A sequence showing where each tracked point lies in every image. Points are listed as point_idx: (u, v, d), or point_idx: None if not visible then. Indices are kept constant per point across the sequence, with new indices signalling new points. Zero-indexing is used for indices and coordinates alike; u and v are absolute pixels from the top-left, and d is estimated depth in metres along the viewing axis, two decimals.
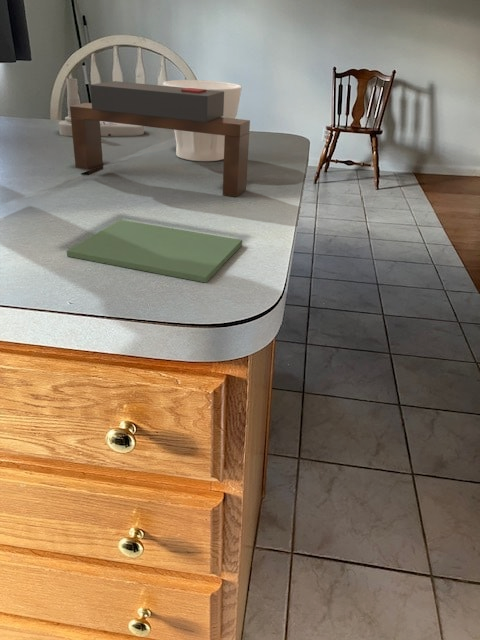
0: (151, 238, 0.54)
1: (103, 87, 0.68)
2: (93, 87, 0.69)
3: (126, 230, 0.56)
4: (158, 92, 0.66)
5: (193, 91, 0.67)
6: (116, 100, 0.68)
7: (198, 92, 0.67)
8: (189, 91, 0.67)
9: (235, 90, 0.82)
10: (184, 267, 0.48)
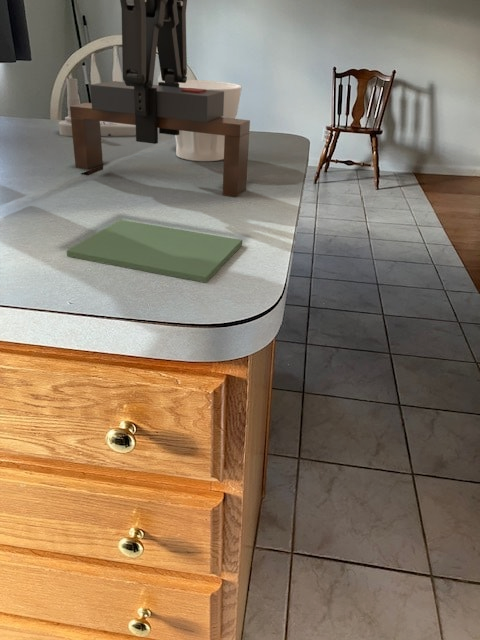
0: (151, 238, 0.54)
1: (103, 87, 0.68)
2: (93, 87, 0.69)
3: (126, 230, 0.56)
4: (158, 92, 0.66)
5: (193, 91, 0.67)
6: (116, 100, 0.68)
7: (198, 92, 0.67)
8: (189, 91, 0.67)
9: (235, 90, 0.82)
10: (184, 267, 0.48)
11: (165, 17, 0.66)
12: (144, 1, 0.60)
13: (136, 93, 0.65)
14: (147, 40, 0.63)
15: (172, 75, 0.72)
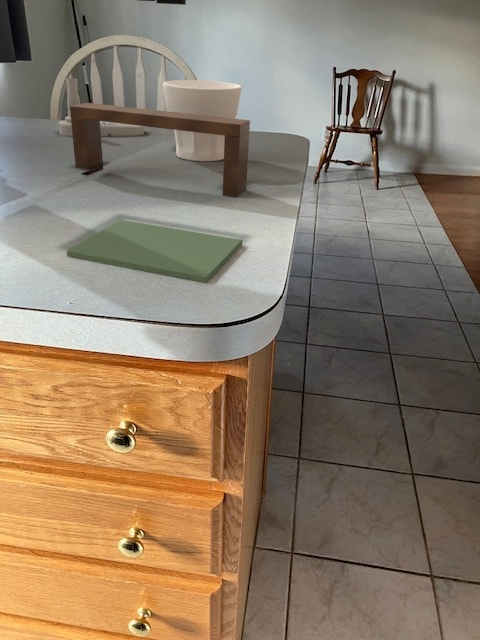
0: (151, 238, 0.54)
1: None
2: None
3: (126, 230, 0.56)
4: None
5: None
6: None
7: None
8: None
9: (235, 90, 0.82)
10: (184, 267, 0.48)
11: None
12: None
13: None
14: None
15: None
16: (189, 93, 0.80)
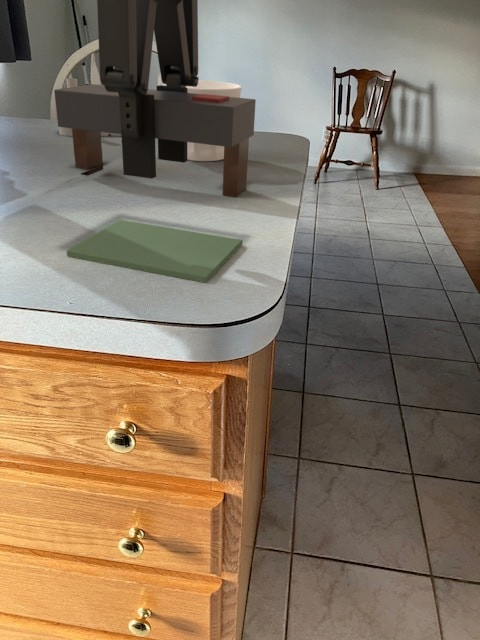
0: (151, 238, 0.54)
1: (73, 93, 0.45)
2: (59, 93, 0.46)
3: (126, 230, 0.56)
4: (157, 101, 0.43)
5: (210, 99, 0.44)
6: (93, 113, 0.45)
7: (218, 101, 0.43)
8: (204, 99, 0.44)
9: (235, 90, 0.82)
10: (184, 267, 0.48)
11: None
12: None
13: (122, 103, 0.42)
14: (139, 20, 0.40)
15: (177, 75, 0.48)
16: None
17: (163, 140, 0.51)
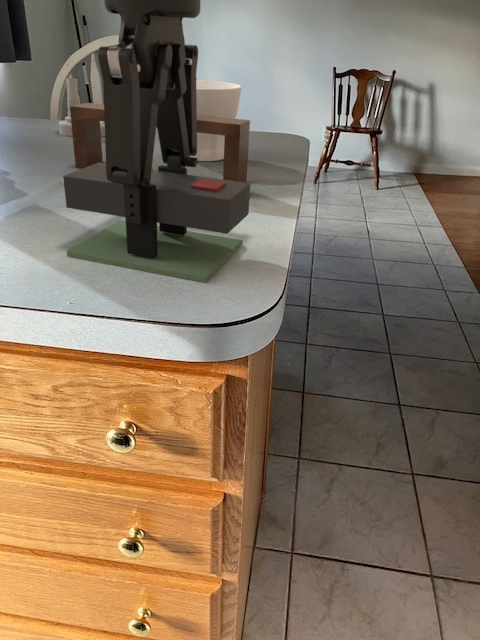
0: None
1: (81, 180, 0.49)
2: (67, 179, 0.49)
3: None
4: (158, 191, 0.47)
5: (208, 188, 0.47)
6: (100, 197, 0.49)
7: (215, 190, 0.47)
8: (202, 188, 0.47)
9: (235, 90, 0.82)
10: (184, 267, 0.48)
11: (168, 85, 0.46)
12: (137, 71, 0.40)
13: (126, 194, 0.46)
14: (142, 122, 0.44)
15: (177, 157, 0.52)
16: None
17: None
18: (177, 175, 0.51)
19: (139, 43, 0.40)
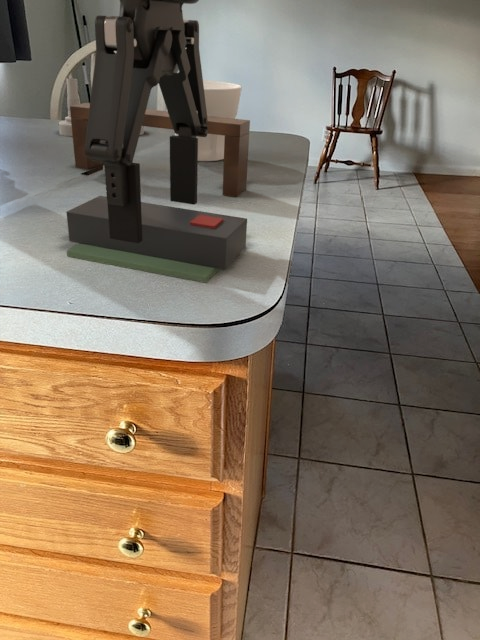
0: None
1: (84, 216, 0.50)
2: (70, 215, 0.51)
3: None
4: (158, 228, 0.48)
5: (206, 225, 0.49)
6: (101, 233, 0.51)
7: (213, 227, 0.49)
8: (201, 225, 0.49)
9: (235, 90, 0.82)
10: (184, 267, 0.48)
11: (167, 72, 0.45)
12: (133, 44, 0.39)
13: (107, 173, 0.42)
14: (132, 98, 0.42)
15: (188, 129, 0.53)
16: None
17: (175, 184, 0.56)
18: (176, 210, 0.53)
19: (139, 28, 0.40)
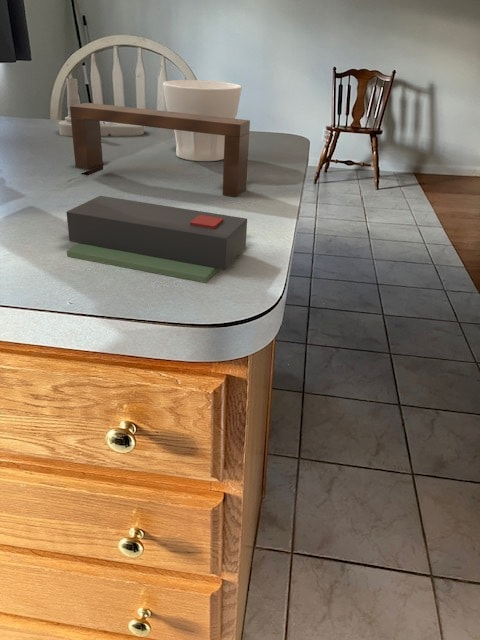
0: None
1: (84, 216, 0.50)
2: (70, 215, 0.51)
3: None
4: (158, 228, 0.48)
5: (206, 225, 0.49)
6: (101, 233, 0.51)
7: (213, 227, 0.49)
8: (201, 225, 0.49)
9: (235, 90, 0.82)
10: (184, 267, 0.48)
11: None
12: None
13: None
14: None
15: None
16: (189, 93, 0.80)
17: None
18: (176, 210, 0.53)
19: None
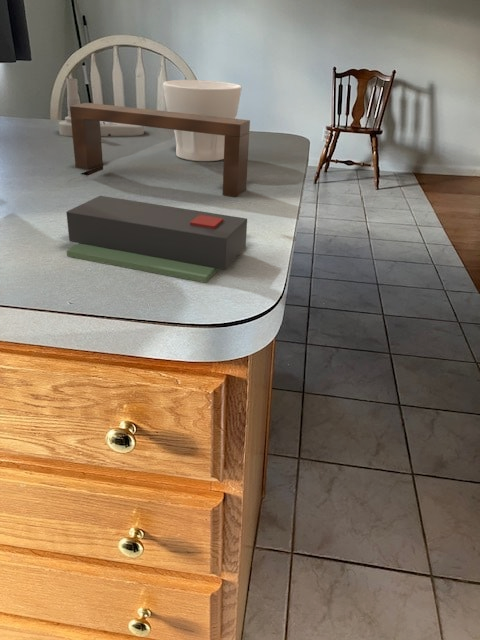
0: None
1: (84, 216, 0.50)
2: (70, 215, 0.51)
3: None
4: (158, 228, 0.48)
5: (206, 225, 0.49)
6: (101, 233, 0.51)
7: (213, 227, 0.49)
8: (201, 225, 0.49)
9: (235, 90, 0.82)
10: (184, 267, 0.48)
11: None
12: None
13: None
14: None
15: None
16: (189, 93, 0.80)
17: None
18: (176, 210, 0.53)
19: None
